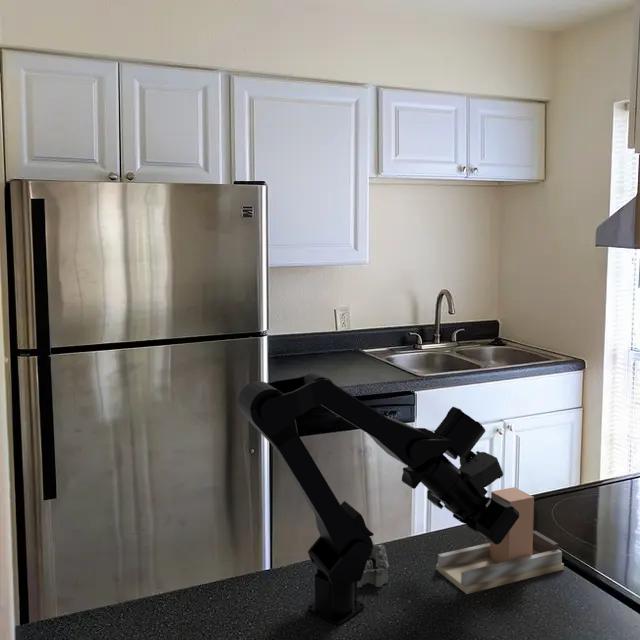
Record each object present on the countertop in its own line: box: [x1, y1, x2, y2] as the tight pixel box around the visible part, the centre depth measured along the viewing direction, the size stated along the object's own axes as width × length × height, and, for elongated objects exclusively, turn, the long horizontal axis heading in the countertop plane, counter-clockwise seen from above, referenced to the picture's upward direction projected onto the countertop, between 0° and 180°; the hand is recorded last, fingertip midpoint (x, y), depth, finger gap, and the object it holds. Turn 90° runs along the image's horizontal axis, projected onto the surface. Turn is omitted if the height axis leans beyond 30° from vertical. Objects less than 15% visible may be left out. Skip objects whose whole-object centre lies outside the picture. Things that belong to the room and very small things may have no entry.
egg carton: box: [357, 543, 390, 589], centre depth 114 cm, size 11×8×4 cm
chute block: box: [489, 486, 535, 563], centre depth 115 cm, size 5×5×12 cm
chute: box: [435, 530, 565, 595], centre depth 114 cm, size 20×9×4 cm, turn 113°
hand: (498, 532), depth 114 cm, fingers closed, pressing on chute block
